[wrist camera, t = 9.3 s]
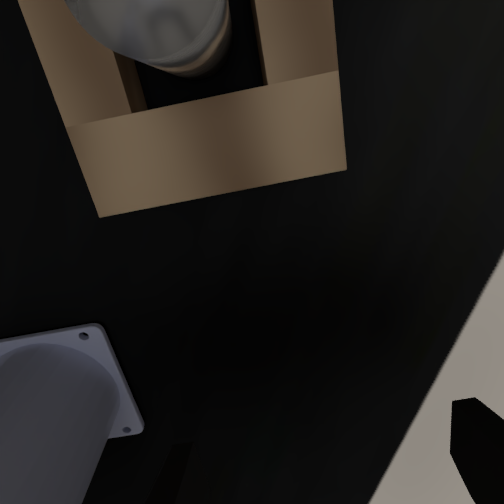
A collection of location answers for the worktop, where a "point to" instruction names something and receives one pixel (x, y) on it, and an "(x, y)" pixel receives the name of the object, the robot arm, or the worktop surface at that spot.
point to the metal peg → (162, 32)
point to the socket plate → (196, 111)
